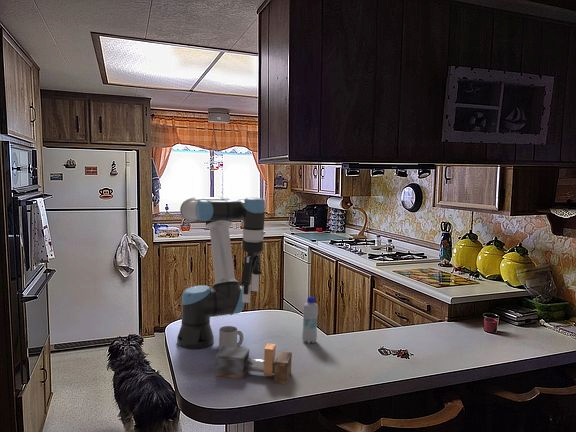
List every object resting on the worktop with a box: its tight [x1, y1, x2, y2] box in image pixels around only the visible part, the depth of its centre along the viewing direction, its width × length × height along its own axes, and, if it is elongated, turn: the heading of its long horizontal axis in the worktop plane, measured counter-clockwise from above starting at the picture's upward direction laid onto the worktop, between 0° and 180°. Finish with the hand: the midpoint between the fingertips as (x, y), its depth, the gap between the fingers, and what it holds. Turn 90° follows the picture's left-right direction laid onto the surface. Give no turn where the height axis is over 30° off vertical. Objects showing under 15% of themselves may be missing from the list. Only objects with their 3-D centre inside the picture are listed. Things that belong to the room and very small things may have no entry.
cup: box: [218, 325, 244, 352], centre depth 175 cm, size 7×10×9 cm
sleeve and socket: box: [214, 346, 293, 385], centre depth 156 cm, size 26×9×8 cm, turn 80°
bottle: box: [302, 296, 319, 345], centre depth 187 cm, size 7×7×20 cm
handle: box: [244, 343, 277, 377], centre depth 155 cm, size 18×5×10 cm, turn 80°
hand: (250, 296), depth 160 cm, fingers open, 13 cm apart
